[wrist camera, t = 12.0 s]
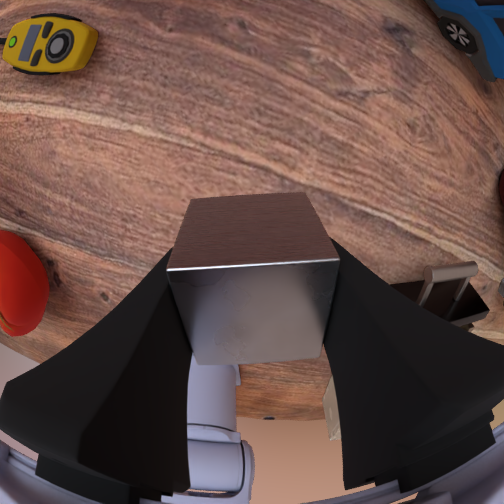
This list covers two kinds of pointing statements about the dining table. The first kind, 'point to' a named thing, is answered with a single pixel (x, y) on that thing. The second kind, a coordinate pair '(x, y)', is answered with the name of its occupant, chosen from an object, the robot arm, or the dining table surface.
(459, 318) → the drawer
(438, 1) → the toy car
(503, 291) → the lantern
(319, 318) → the steel block
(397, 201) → the dining table surface
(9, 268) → the tomato
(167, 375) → the robot arm
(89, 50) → the yellow walkie talkie
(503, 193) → the ashtray
